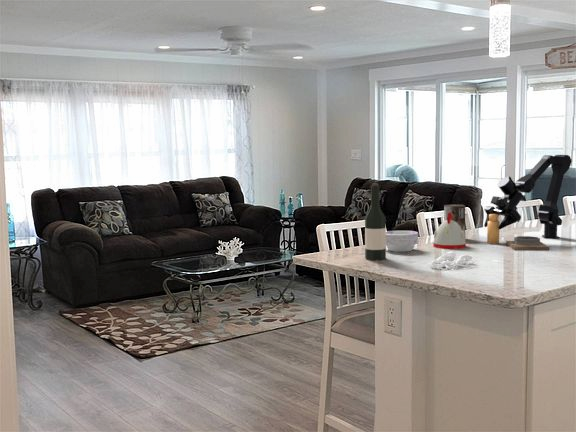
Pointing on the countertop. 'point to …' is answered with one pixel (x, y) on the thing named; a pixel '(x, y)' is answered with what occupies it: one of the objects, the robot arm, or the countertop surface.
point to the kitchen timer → (449, 235)
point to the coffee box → (456, 214)
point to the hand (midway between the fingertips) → (491, 227)
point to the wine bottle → (375, 228)
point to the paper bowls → (401, 240)
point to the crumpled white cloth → (451, 261)
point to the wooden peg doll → (493, 229)
